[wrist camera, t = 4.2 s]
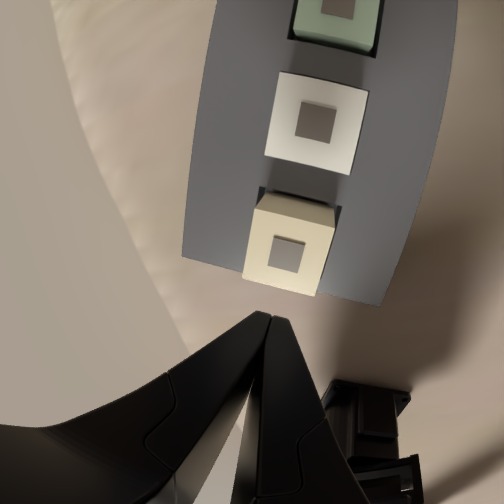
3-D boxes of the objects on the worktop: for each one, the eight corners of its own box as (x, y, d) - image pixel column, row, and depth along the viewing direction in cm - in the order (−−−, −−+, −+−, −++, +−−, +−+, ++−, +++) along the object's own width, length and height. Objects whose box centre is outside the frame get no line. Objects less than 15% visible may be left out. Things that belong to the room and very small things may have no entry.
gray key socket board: (372, 277, 17) (379, 306, 15) (202, 234, 18) (181, 256, 16) (437, 16, 10) (457, 0, 8) (245, -25, 12) (228, -48, 9)
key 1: (364, 57, 12) (372, 45, 9) (299, 43, 12) (292, 28, 10) (373, 3, 10) (382, -18, 8) (308, -11, 11) (304, -35, 8)
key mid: (344, 163, 13) (349, 175, 10) (275, 147, 13) (263, 155, 11) (359, 96, 11) (368, 91, 9) (288, 79, 12) (279, 71, 9)
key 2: (317, 266, 15) (314, 298, 13) (255, 250, 15) (241, 279, 13) (333, 207, 14) (335, 229, 11) (267, 190, 14) (253, 209, 12)
